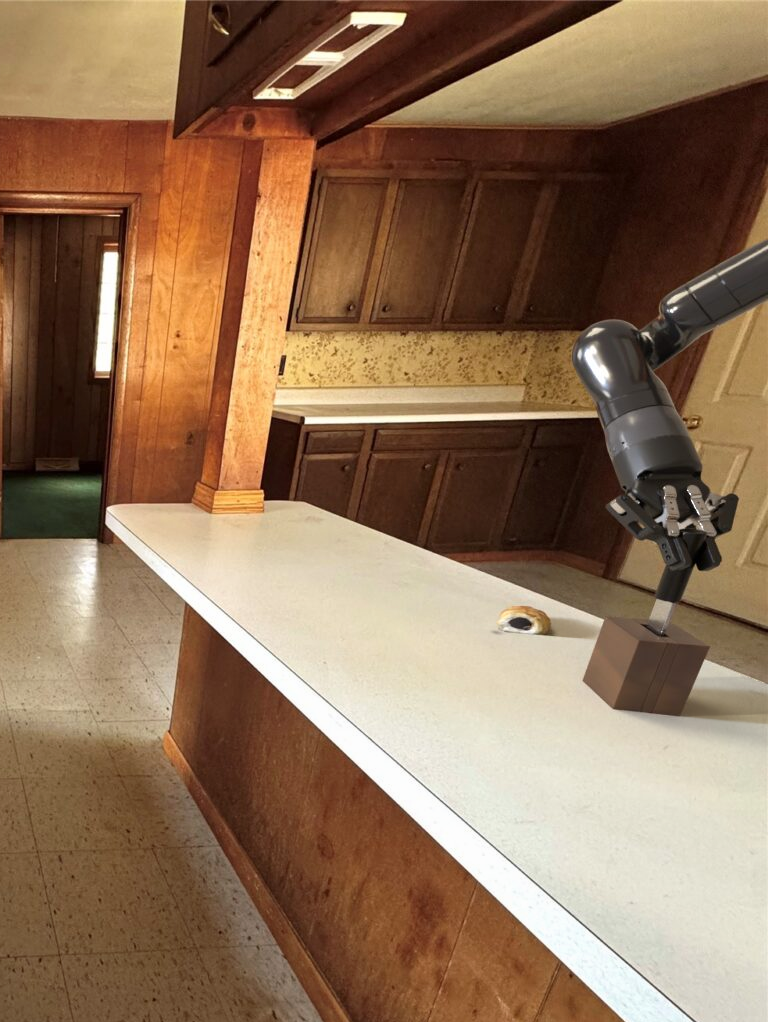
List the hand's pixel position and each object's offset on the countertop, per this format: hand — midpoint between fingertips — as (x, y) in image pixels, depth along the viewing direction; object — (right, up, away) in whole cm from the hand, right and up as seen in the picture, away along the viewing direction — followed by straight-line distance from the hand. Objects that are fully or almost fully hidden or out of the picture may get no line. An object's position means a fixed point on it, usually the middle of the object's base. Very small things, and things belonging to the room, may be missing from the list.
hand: (696, 567), depth 80 cm
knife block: (+1, -18, +10) cm, 20 cm away
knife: (+1, -13, +8) cm, 15 cm away
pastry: (+6, -9, +32) cm, 34 cm away
